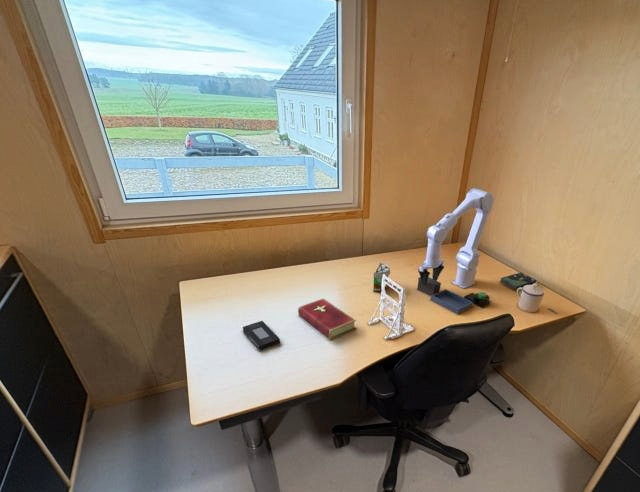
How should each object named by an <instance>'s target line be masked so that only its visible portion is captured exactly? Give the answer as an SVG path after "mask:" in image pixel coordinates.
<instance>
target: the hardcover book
mask: <svg viewBox="0 0 640 492" xmlns="http://www.w3.org/2000/svg"><path fill="white" fill-rule="evenodd" d="M297 315H298V316H299V317H300V318H301V319H303V320H304V321H306V322H307V323H308V324H309V325H311V326H312V327H313V328H315V329H316V330H317V331H318V332H320V333H321V334H323V335H324V336H325V337H326V338H327V339H329V340H330V341H332V340H334V339H336V338H338V337H340V336H342V335H345V334H347V333H349V332H350V333H351V332H352V331H354V330H356V327H355V322H356V321H357V320H356V319H355V318H353V317H352V316H351V315H349V314H347V313H345V312H344V311H343V310H341V309H340V308H338V307H337V306H335V305H334V304H333V303H331V302H330V301H329V300H326V299H325V298H320V299H317V300H315V301H312V302H309V303H305V304H303V305H300V306H299V307H298V308H297Z"/></svg>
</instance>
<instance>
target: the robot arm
mask: <svg viewBox="0 0 640 492" xmlns="http://www.w3.org/2000/svg"><path fill="white" fill-rule="evenodd" d="M494 201H495V196H494V195H493V194H492V192H489V191H486V190H482V189H479V188H477V187H473V188H471V189H470V190H469V191H468V192H466V195H465V199H464V200H462V202H461V203H460V204H459V205H458V206H457V207H456V208H455V209H454V210H453V211H452V213H450V212H449V213H446V214H445V215H444V216H443V217H442V219H441V218H440V220H439V221H438V222H437V223H436V224H434V225H431V226H430V227H428V228H427V231H426V237H427V247H426V248H427V250H426V255H425V256H426V257H425V260H423V264H421V265H420V266H419V267H418V269H417V272H418V273H419V276H420V277H421V282H422V284H423V285H426V284H427V279H428V277H430V274H431V272H430V271H428V270H429V269H432V279H434V280H436V281H438V279H439V277H440V275H441V273H442V271H443V270H444V269H445V266H444V265H445V264H444V263H445V260H444V259H442V258H441V251H442V244H443V242H444V241H445V239H446V238H447V235H448V233H449V232H450V231H451V230H453V228H454V227H455V226H456V225H457V224H458V220H459V219H460V218H461V217H462V216H463V215H465V214H466V213H467V212H468V211H470V210H471V209H475V211H476V214H475V216H474V219H473V223H472V224H471V229H470V231H469V235H468V237H467V240H466V243H465V245H464V246H462V247H460V249H459V251H458V252H457V254H456V256H455V262H456V263H457V270H456V276H455V280H453V281H451V283H452V284H453V285H455V286H457V287H460V288H462V289H467V288H469V287H471V286H474V285H475V284H476V282H475V281H476V280H475V279H476V274H477V267H478V265H479V262H480V261H479V258H480V252H479V250H478V247H479V244H480V241H481V239H482V237H483V233H484V230H485V228H486V224H487V222H488V220H489V216H490V214H491V210H492V207H493V204H494Z"/></svg>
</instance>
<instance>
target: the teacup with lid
mask: <svg viewBox="0 0 640 492" xmlns="http://www.w3.org/2000/svg"><path fill="white" fill-rule="evenodd" d="M520 290H521V292H520ZM520 293H521V294H520ZM516 295H517V297H518V298H519V300H518V304H517V306H518V308H519V309H520V310H522V311H524V312H527V313H536V312H538V311H539V309H540V305H541V304H542V303H541V302H542V300H543V297H544V295H545V290H544V289H543V288H542V287H540V286H538V283H536V284H535V283H534V284H533V285H525V286H524V287H523V288H522V287H520V288H518V289H517V290H516Z"/></svg>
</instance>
